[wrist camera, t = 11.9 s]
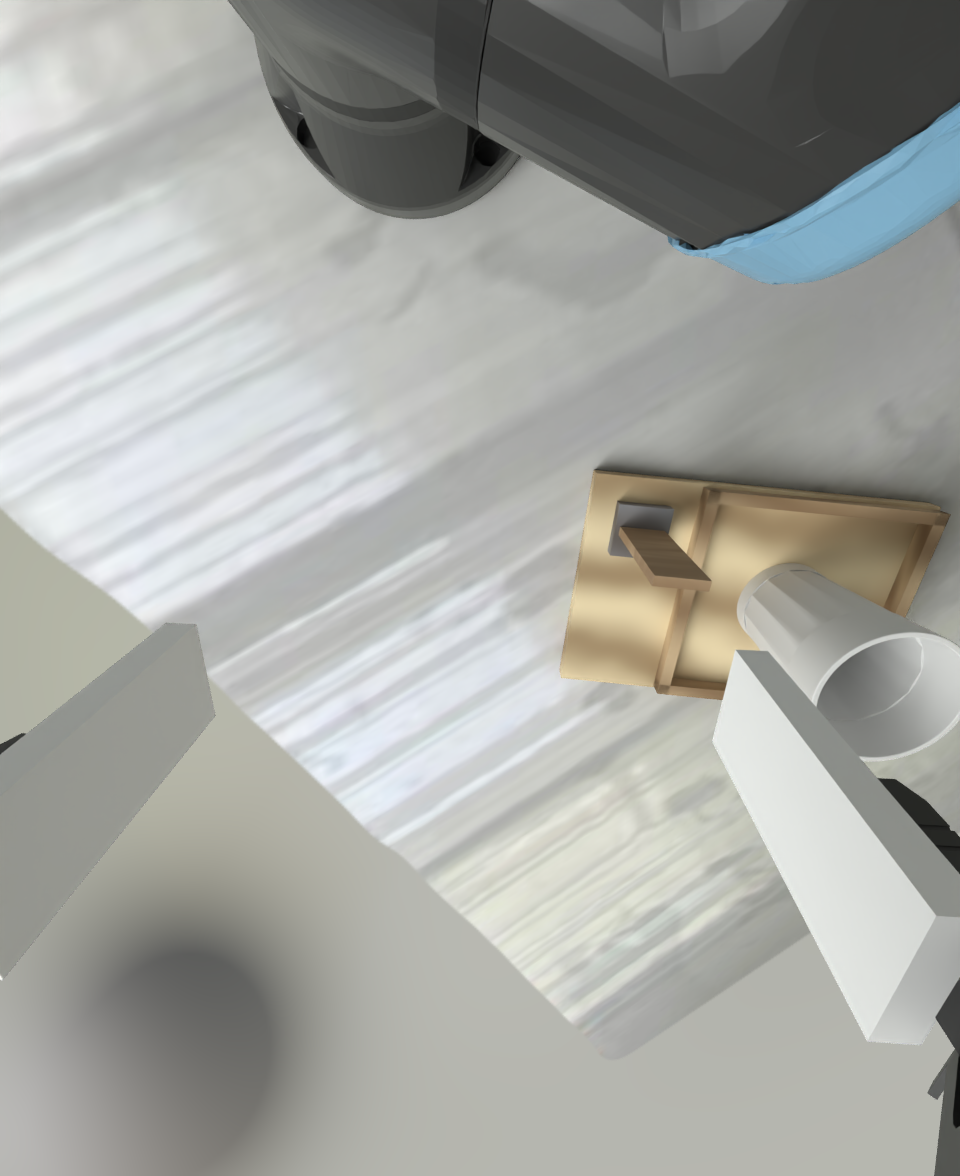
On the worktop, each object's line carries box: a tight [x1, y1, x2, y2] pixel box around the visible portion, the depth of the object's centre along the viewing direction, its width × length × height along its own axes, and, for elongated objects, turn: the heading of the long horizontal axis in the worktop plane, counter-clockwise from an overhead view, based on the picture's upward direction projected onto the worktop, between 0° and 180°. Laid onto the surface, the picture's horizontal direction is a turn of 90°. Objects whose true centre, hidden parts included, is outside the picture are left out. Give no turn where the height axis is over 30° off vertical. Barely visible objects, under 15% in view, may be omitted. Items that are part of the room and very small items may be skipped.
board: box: [560, 470, 951, 700], centre depth 35 cm, size 16×23×11 cm
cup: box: [737, 563, 960, 761], centre depth 33 cm, size 8×8×12 cm
